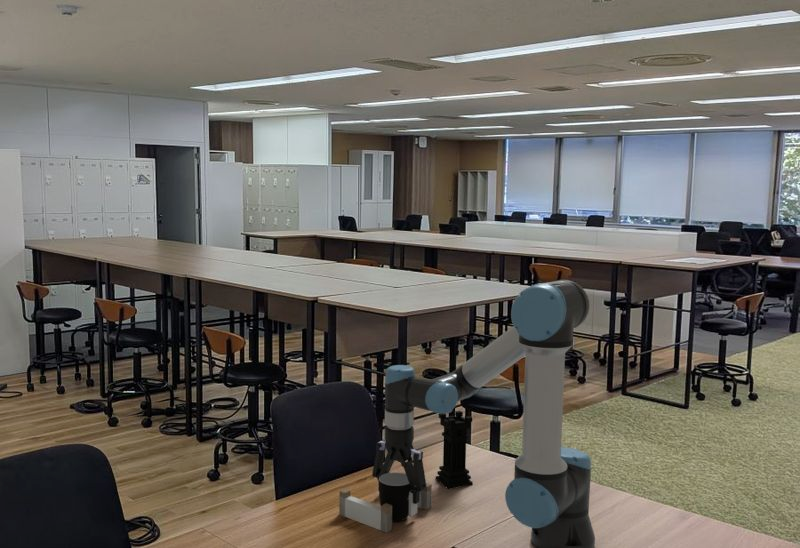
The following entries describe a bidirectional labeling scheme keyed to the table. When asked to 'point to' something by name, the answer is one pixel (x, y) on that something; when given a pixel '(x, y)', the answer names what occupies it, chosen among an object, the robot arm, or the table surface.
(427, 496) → the chute
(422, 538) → the table surface
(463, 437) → the chess piece
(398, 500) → the mug
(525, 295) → the robot arm
